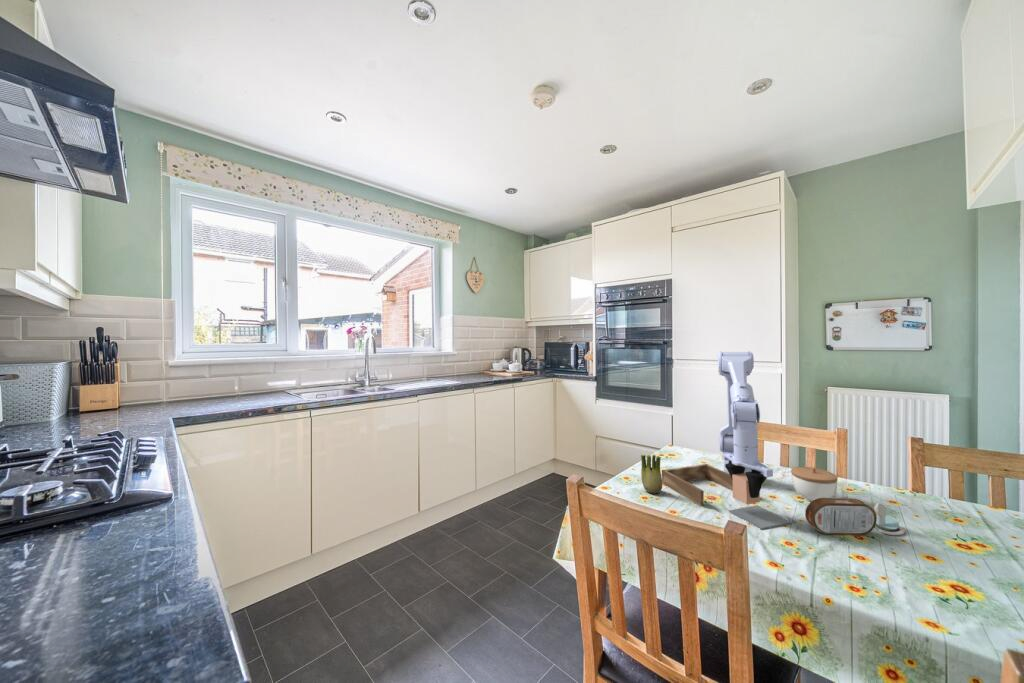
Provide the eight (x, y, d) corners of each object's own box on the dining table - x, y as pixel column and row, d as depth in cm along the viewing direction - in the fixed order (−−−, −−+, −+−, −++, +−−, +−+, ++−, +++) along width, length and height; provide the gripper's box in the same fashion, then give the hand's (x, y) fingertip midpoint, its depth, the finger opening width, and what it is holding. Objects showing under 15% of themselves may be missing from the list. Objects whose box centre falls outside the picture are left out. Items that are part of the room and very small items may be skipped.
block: (745, 495, 105) (745, 472, 105) (759, 501, 101) (759, 478, 101) (732, 497, 104) (732, 474, 104) (746, 504, 100) (746, 480, 100)
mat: (757, 506, 106) (757, 505, 106) (791, 523, 96) (791, 522, 96) (729, 511, 104) (729, 510, 104) (761, 529, 94) (761, 528, 94)
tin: (868, 530, 92) (868, 497, 92) (880, 537, 89) (879, 503, 89) (804, 529, 94) (803, 496, 94) (813, 535, 91) (812, 502, 90)
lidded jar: (846, 502, 107) (846, 470, 107) (822, 509, 103) (822, 476, 103) (806, 488, 117) (805, 459, 117) (783, 494, 113) (782, 464, 113)
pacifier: (911, 533, 91) (880, 521, 96) (912, 509, 90) (881, 498, 96) (892, 539, 88) (862, 526, 94) (893, 514, 88) (863, 503, 94)
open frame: (706, 476, 129) (706, 464, 129) (750, 497, 112) (750, 483, 112) (662, 483, 124) (661, 470, 124) (700, 506, 107) (700, 491, 107)
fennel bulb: (639, 490, 119) (639, 453, 119) (650, 486, 122) (649, 450, 122) (655, 496, 114) (654, 458, 114) (665, 493, 117) (664, 455, 117)
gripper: (713, 439, 108) (714, 484, 109) (757, 454, 94) (758, 506, 95) (732, 436, 110) (733, 481, 110) (778, 451, 96) (779, 502, 96)
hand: (746, 493), depth 103 cm, fingers closed on block, 4 cm apart
